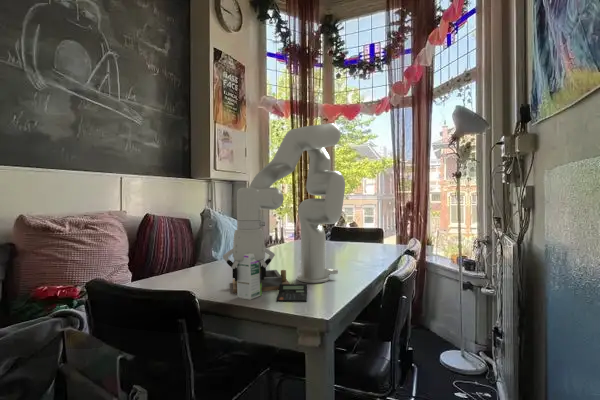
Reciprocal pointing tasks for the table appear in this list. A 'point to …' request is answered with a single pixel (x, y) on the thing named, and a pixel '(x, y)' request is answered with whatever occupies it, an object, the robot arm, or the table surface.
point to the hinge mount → (269, 281)
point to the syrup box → (249, 277)
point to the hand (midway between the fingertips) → (249, 279)
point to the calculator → (292, 293)
